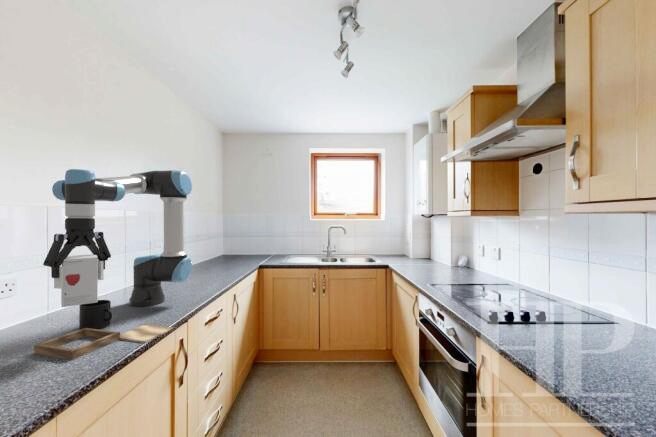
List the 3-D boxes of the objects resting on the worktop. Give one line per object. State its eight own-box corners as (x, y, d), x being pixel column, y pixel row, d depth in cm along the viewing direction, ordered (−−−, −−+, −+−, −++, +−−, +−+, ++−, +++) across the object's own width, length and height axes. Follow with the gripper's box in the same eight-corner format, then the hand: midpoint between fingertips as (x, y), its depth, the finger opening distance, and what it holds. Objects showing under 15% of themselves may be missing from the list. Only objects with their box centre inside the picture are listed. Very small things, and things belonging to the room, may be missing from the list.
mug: (100, 332, 110) (100, 307, 110) (72, 330, 112) (72, 305, 112) (122, 323, 119) (122, 300, 119) (96, 321, 121) (96, 299, 121)
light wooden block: (145, 325, 117) (145, 324, 117) (173, 329, 113) (173, 327, 113) (114, 338, 104) (114, 337, 104) (145, 343, 101) (145, 341, 101)
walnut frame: (85, 334, 107) (85, 327, 107) (120, 339, 104) (120, 332, 104) (34, 353, 92) (34, 345, 92) (72, 359, 89) (72, 351, 89)
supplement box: (60, 307, 92) (60, 259, 92) (62, 301, 99) (62, 255, 99) (98, 302, 98) (98, 256, 97) (97, 296, 104) (97, 253, 104)
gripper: (106, 217, 111) (106, 275, 111) (26, 217, 87) (26, 291, 87) (123, 217, 109) (123, 276, 109) (46, 217, 85) (46, 293, 85)
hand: (80, 283), depth 98 cm, fingers closed on supplement box, 12 cm apart
